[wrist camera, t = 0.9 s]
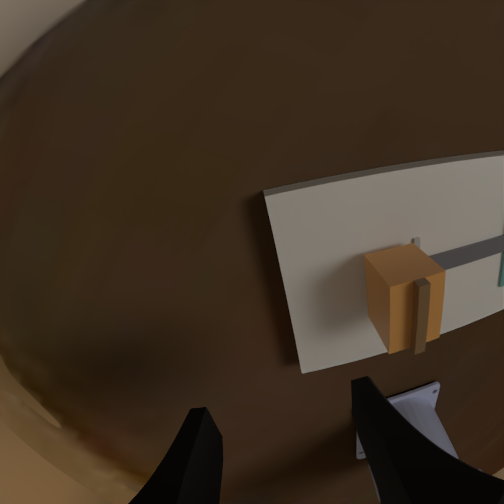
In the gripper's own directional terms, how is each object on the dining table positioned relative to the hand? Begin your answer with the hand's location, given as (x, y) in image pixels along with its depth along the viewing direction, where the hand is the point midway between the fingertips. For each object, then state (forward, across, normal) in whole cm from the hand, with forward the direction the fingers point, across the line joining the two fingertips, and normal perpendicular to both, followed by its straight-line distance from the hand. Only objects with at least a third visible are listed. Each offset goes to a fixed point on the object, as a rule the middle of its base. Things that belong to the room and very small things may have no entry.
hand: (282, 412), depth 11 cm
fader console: (+9, -15, 0) cm, 18 cm away
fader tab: (+7, -7, 0) cm, 10 cm away
